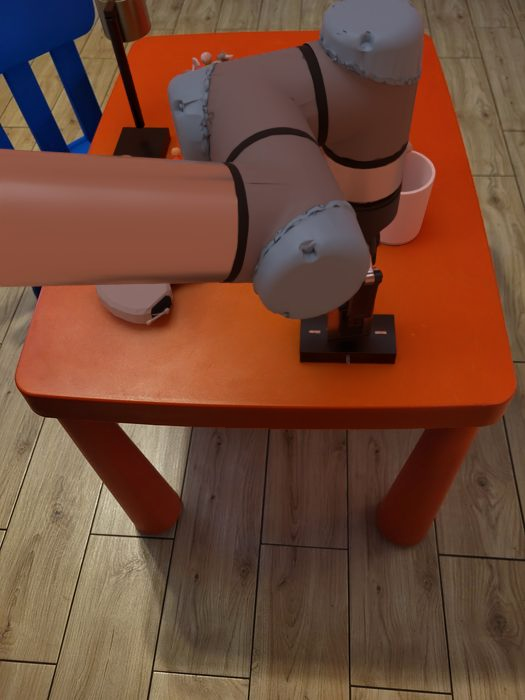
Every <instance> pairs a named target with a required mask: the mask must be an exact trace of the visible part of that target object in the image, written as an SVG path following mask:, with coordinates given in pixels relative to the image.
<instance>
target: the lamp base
mask: <svg viewBox="0 0 525 700" xmlns="http://www.w3.org/2000/svg"><path fill="white" fill-rule="evenodd" d="M171 139H172V137H171V132H170V128H169V127H165V126H164V127H162V126H161V127H158V126H154V127H153V126H144V127H143V128H140V129H139V128H136V126H123V127H122V128H121V131H120V133H119V137H118V138H117V142H116V145H115V148H114V150H113V153H112V156H122V155H129V156H132V157H144V158H160V159H166V157H167V154H168V150H169V147H170V143H171Z"/></svg>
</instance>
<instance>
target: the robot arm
mask: <svg viewBox="0 0 525 700" xmlns="http://www.w3.org/2000/svg"><path fill="white" fill-rule="evenodd" d="M318 36H319V37H318V39H316V40H311V41H306V42H304V43H302V44H301V45H297V46H292V47H286V48H282V49H277V50H272V51H267V52H262V53H259V54H258V53H257V54H254V55H248V56H243V57H239V58H233V59H232V60H229V61H224V62H215V61H213V62H214V63H212V62H211V64H210V65H209V66H206V67H203V68H200V69H196V70H193V71H190V72H186V73H184V72H183V73H179V74H177V75H175V76H174V77H172V79H170V81H169V83H168V87H167V92H166V93H167V98H168V99H167V100H168V105H169V109H170V114H171V117H172V122H173V126H174V130H175V134H176V138H177V141H178V146H179V149H180V150H181V157H183V159H184V160H176V159H173V158H165V159H160V158H144V157H127V156H113V155H112V154H111V155H110V154H109V155H108V154H93V153H76V152H59V151H45V150H44V151H43V150H30V149H29V150H26V149H11V148H0V288H22V287H23V288H24V287H25V288H29V287H69V286H70V287H72V286H73V287H74V286H77V287H79V286H95V285H127V284H170V285H173V284H215V283H218V284H252V287H253V292H254V294H255V295H257V296H258V297H259V299H260V302H261V304H262V305H263V306H264V307H265V308H266V310H267V311H268V312H271V313H272V314H274V315H275V314H276V315H277V314H278V315H281V316H282V317H284V318H285V319H288V320H301V319H307V318H312V317H316V316H320V315H322V314H326V313H328V312H330V311H332V310H334V309H336V308H338V310H339V312H341V315H340V331H339V333H340V337H345V336H353V335H360V334H362V332H363V324H364V318H370V317H371V315H372V311H373V307H374V308H375V304H376V298H377V293H378V290H379V286H380V284H382V283H383V278H384V274H383V271H382V270H381V269H379V267H377V266H375V265H376V263H377V251H378V247H379V246H380V244H381V243H380V232H381V231H382V230H383V229H384V228H386V227H387V226H388V225H389V224H391V222H392V221H393V220H394V218H395V217H396V215H397V212H398V207H399V200H400V194H401V187H402V182H401V181H402V178H403V171H404V165H405V157H406V153H409V152H411V151H413V143H412V142H411V141H410V134H411V133H410V132H411V129H412V121H413V115H414V111H415V103H416V98H417V92H418V86H419V80H420V79H421V77H422V73H423V68H422V65H423V54H424V53H423V52H424V44H425V43H424V42H425V39H424V36H425V23H424V18H423V16H422V14H421V11H420V10H419V9H417V7H416V6H415V4H414V3H413V2H411V0H337V1H334V2H333V3H332V4H330V5H329V7H327V9H326V10H325V12H324V14H323V17H322V20H321V27H320V30H319V35H318ZM408 139H409V141H408ZM374 266H375V267H374ZM374 303H375V304H374ZM373 312H374V311H373Z"/></svg>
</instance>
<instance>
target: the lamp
mask: <svg viewBox="0 0 525 700" xmlns="http://www.w3.org/2000/svg"><path fill="white" fill-rule="evenodd" d="M94 3H95V7H96V11H97V14H98V17H99V20H100V25H101V28H102V31H103V34H104V37H105V38H106V39H107V40H108V41H110V43H111V46H112V50H113V53H114V57H115V60H116V64H117V67H118V70H119V74H120V78H121V81H122V84H123V88H124V91H125V95H126V98H127V101H128V106H129V109H130V112H131V115H132V119H133V123H134V127H136V128H139V129H140V128H143V127H146V123H145V119H144V115H143V111H142V108H141V104H140V100H139V97H138V93H137V89H136V86H135V83H134V78H133V74H132V71H131V68H130V64H129V60H128V57H127V52H126V49H125V45H124V44H126V43H127V44H128V43H133V42H137V41H138V40H141V39H143V38H145V37H147V35H149V33H150V32H151V30H152V22H151V17H150V14H149V10H148V4H147V0H94Z"/></svg>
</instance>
